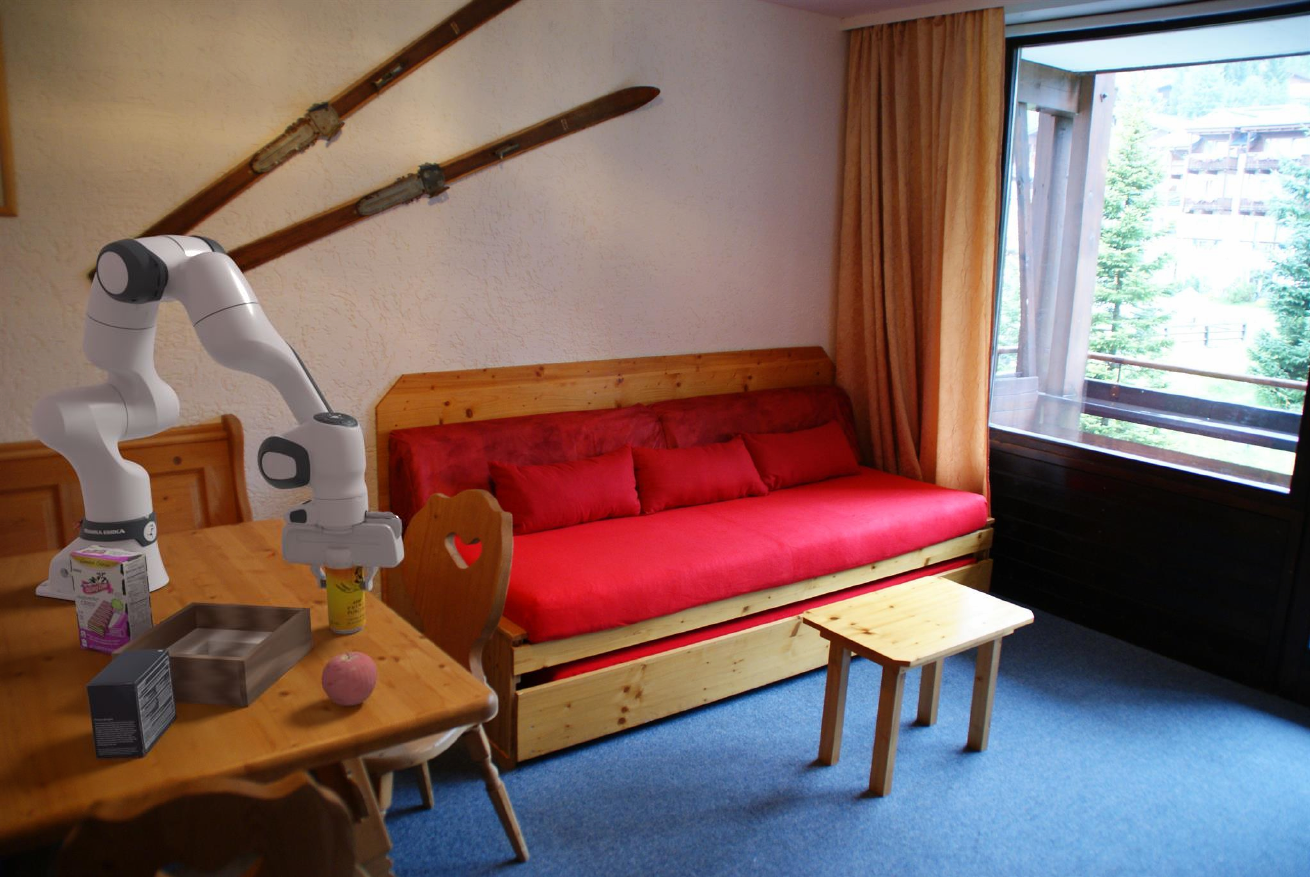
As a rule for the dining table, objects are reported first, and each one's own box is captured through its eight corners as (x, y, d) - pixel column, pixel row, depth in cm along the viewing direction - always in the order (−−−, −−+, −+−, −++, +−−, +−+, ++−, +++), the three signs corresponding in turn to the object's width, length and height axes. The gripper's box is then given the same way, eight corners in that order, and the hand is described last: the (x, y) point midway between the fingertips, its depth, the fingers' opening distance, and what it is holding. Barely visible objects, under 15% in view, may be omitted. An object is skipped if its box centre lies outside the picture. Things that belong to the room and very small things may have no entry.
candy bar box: (78, 650, 154) (66, 552, 151) (104, 638, 159) (94, 543, 156) (131, 660, 151) (120, 560, 147) (157, 648, 155) (147, 551, 152)
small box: (129, 719, 132) (121, 648, 130) (178, 718, 133) (171, 647, 130) (92, 759, 122) (82, 683, 120) (145, 758, 122) (137, 681, 120)
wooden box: (116, 698, 138) (111, 653, 137) (196, 642, 157) (192, 602, 156) (248, 706, 136) (244, 660, 134) (312, 648, 155) (309, 608, 154)
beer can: (355, 636, 160) (350, 550, 157) (322, 633, 162) (316, 548, 159) (372, 622, 166) (368, 540, 163) (340, 619, 167) (335, 537, 164)
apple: (356, 719, 133) (353, 665, 131) (313, 709, 135) (309, 656, 134) (388, 696, 139) (386, 644, 138) (346, 687, 142) (343, 637, 140)
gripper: (407, 507, 162) (411, 585, 164) (292, 502, 164) (297, 579, 167) (393, 517, 156) (397, 598, 158) (274, 512, 158) (279, 592, 160)
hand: (345, 588), depth 162 cm, fingers closed on beer can, 6 cm apart
